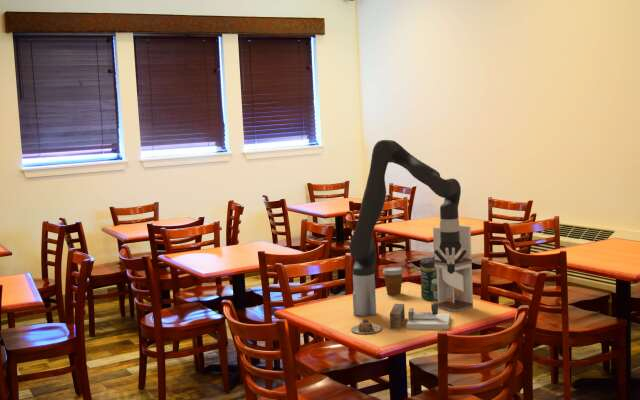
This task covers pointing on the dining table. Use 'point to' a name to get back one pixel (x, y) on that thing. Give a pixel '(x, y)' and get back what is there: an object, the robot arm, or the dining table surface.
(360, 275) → the robot arm
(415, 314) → the bolt
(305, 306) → the dining table surface
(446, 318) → the door board
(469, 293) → the display case
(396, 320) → the block
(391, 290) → the disposable coffee cup
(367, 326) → the pastry
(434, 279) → the coffee jar
